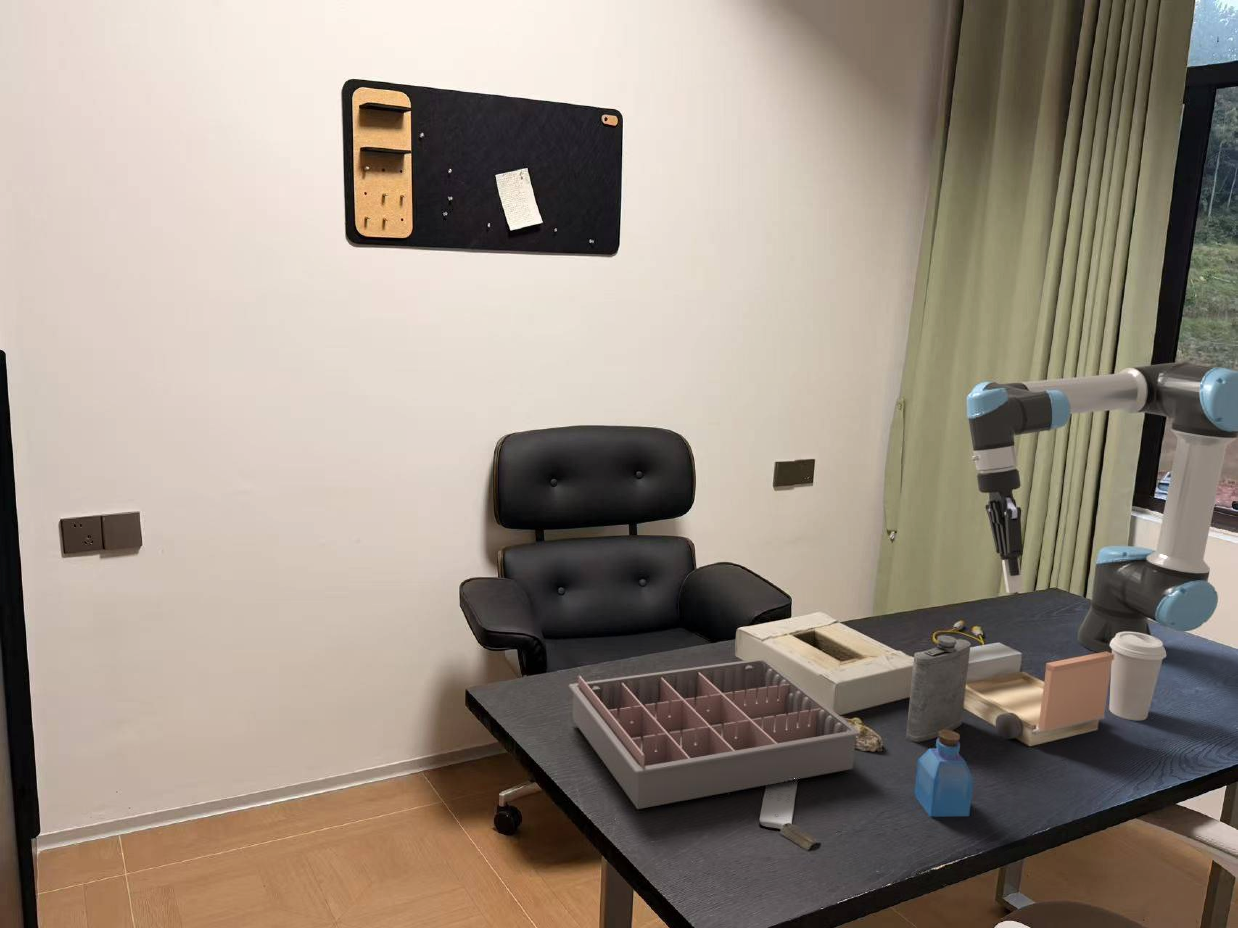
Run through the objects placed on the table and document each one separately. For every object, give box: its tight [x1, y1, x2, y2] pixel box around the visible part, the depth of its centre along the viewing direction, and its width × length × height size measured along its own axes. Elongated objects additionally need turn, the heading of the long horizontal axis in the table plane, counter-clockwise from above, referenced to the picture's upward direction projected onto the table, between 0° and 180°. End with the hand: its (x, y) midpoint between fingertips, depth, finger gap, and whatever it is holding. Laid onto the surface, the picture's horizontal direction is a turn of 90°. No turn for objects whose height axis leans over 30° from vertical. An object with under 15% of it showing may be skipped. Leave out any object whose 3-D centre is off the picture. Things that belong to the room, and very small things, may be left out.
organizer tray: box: [568, 658, 862, 810], centre depth 166 cm, size 32×40×10 cm
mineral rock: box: [840, 716, 884, 753], centre depth 172 cm, size 11×4×8 cm
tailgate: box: [1032, 651, 1114, 735], centre depth 173 cm, size 2×17×13 cm, turn 115°
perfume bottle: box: [914, 730, 974, 818], centre depth 151 cm, size 6×6×12 cm
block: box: [779, 822, 822, 852], centre depth 143 cm, size 4×6×2 cm, turn 39°
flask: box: [905, 635, 972, 743], centre depth 175 cm, size 4×14×18 cm, turn 126°
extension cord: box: [932, 620, 986, 645], centre depth 221 cm, size 12×16×2 cm
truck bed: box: [963, 642, 1100, 747], centre depth 186 cm, size 24×21×8 cm
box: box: [734, 611, 914, 716], centre depth 199 cm, size 23×8×32 cm
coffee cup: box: [1109, 632, 1167, 722], centre depth 185 cm, size 10×10×15 cm
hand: (1015, 591), depth 186 cm, fingers closed
